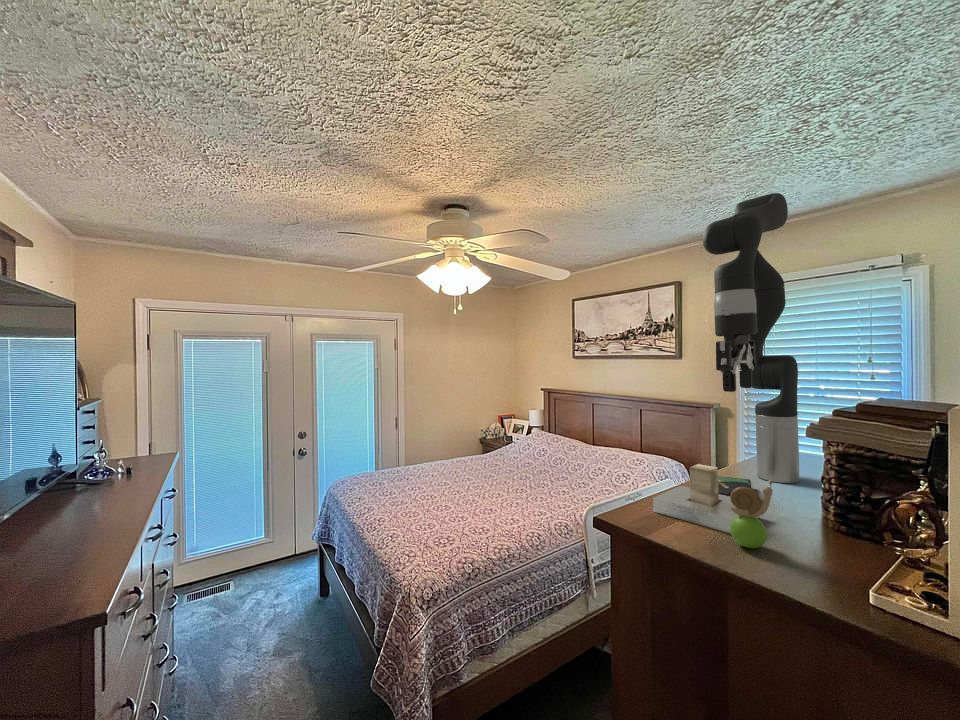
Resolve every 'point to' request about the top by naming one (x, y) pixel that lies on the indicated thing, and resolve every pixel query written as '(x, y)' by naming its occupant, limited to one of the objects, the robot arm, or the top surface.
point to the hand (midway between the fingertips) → (738, 389)
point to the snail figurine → (749, 516)
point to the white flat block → (695, 509)
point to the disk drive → (731, 484)
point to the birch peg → (704, 485)
